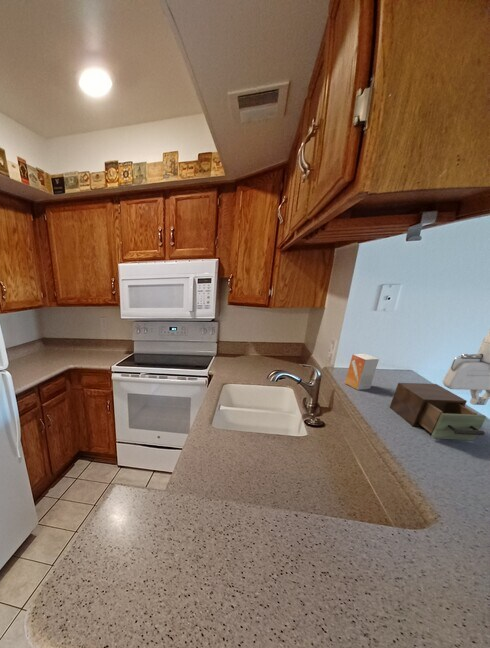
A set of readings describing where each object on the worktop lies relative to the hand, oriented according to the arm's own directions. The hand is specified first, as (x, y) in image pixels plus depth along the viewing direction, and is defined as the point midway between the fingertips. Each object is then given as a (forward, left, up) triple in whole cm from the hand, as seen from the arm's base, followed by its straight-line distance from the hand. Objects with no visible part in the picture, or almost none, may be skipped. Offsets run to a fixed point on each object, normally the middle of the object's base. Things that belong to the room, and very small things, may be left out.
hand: (477, 404), depth 91 cm
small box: (+26, -43, -13) cm, 52 cm away
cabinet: (+7, -18, -13) cm, 23 cm away
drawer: (+3, -6, -12) cm, 14 cm away
